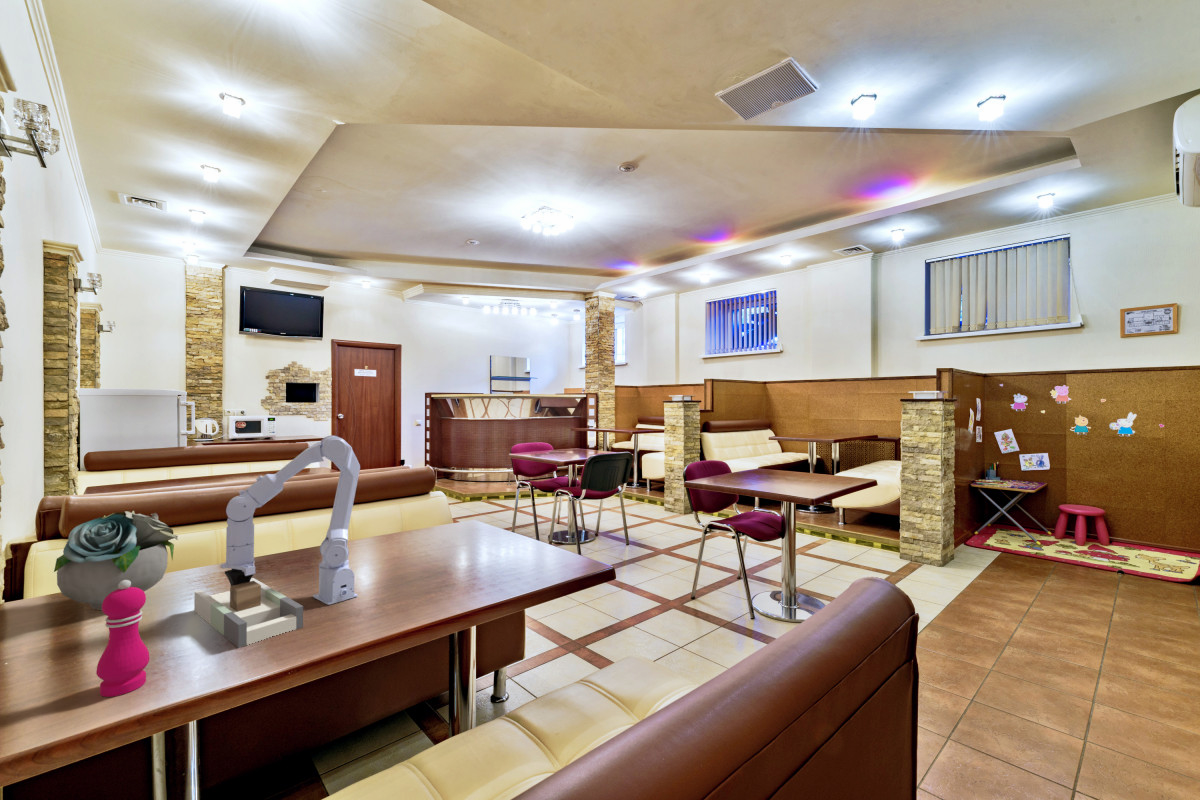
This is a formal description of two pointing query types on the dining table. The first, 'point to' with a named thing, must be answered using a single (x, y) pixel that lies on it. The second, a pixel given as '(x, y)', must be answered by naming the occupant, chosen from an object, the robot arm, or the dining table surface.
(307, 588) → the dining table surface
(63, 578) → the flower arrangement
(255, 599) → the walnut block
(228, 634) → the tray
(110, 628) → the pepper mill
